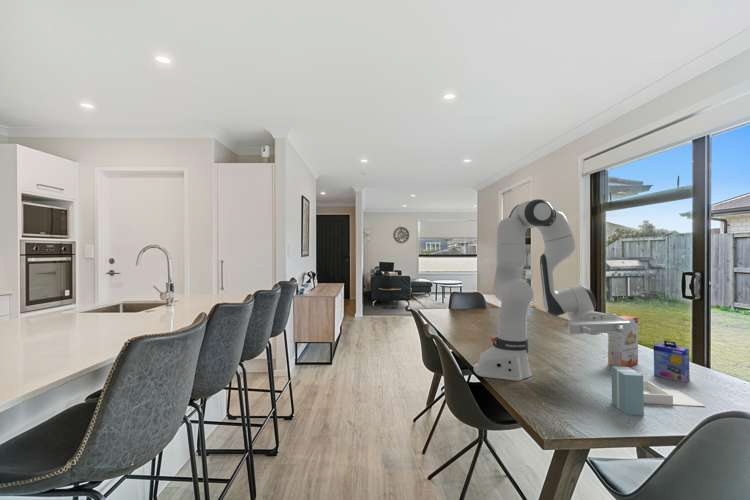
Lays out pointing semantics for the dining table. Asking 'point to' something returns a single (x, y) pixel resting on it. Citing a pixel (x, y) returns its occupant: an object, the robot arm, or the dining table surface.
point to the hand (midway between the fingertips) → (606, 331)
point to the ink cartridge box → (671, 361)
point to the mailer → (666, 396)
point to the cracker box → (624, 345)
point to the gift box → (627, 390)
